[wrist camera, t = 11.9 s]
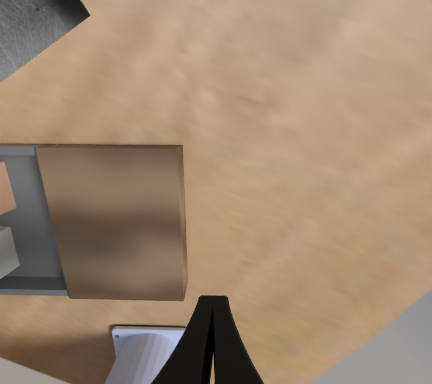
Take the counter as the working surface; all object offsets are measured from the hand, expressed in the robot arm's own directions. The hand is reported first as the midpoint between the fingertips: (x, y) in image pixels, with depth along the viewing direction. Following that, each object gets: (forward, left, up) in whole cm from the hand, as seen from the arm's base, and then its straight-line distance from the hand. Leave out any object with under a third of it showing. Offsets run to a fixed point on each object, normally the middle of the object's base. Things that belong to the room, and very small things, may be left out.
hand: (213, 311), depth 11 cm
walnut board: (+1, +8, -9) cm, 12 cm away
